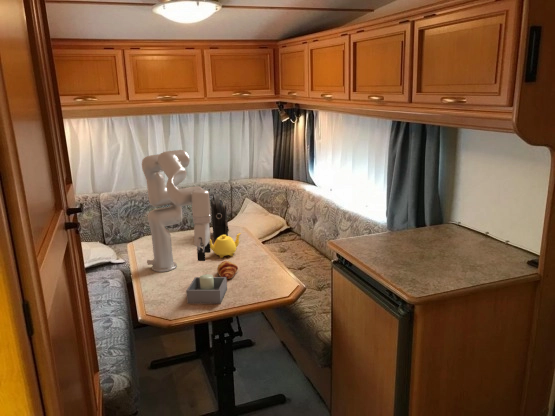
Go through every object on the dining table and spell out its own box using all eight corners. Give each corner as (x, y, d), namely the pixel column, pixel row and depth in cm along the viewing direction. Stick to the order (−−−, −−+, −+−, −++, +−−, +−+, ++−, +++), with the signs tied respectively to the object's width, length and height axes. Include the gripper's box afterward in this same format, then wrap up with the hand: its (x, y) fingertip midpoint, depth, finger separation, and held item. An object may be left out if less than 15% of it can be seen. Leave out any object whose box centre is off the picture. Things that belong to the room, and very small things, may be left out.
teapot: (238, 247, 267) (236, 228, 264) (245, 255, 253) (244, 235, 250) (204, 252, 260) (202, 233, 257) (210, 261, 246) (208, 241, 244)
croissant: (222, 272, 240) (214, 260, 238) (239, 262, 240) (231, 250, 238) (222, 288, 219) (213, 275, 217) (240, 277, 219) (231, 264, 217)
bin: (187, 303, 198) (186, 290, 196) (196, 289, 212) (194, 277, 210) (220, 303, 196) (219, 290, 195) (227, 289, 211) (226, 277, 209)
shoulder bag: (210, 232, 297) (207, 190, 290) (224, 231, 299) (221, 189, 292) (215, 243, 276) (212, 198, 269) (230, 241, 278) (227, 196, 271)
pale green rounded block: (199, 296, 202) (198, 279, 200) (202, 290, 207) (201, 274, 205) (212, 296, 201) (211, 279, 199) (215, 290, 207) (214, 274, 205)
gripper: (198, 213, 204) (200, 249, 209) (187, 225, 187) (190, 264, 192) (214, 213, 203) (217, 249, 208) (205, 225, 187) (208, 264, 191)
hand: (204, 256), depth 200 cm, fingers open, 9 cm apart
